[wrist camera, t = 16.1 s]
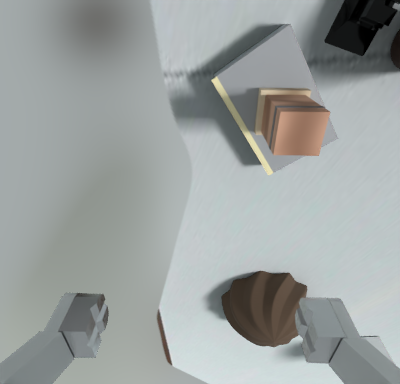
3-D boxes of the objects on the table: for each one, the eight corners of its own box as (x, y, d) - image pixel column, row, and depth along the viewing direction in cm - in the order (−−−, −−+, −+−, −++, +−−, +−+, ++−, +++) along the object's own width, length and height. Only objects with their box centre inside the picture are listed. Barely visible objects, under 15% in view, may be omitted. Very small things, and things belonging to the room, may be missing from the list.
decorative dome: (230, 265, 55) (235, 308, 46) (322, 275, 56) (342, 320, 47) (214, 318, 65) (215, 362, 56) (292, 327, 66) (304, 371, 58)
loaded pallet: (254, 131, 36) (267, 159, 28) (259, 87, 33) (275, 106, 25) (298, 131, 36) (323, 160, 28) (307, 88, 33) (337, 106, 25)
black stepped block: (358, 69, 35) (378, 75, 31) (309, 50, 34) (323, 53, 30) (429, -50, 28) (464, -62, 25) (371, -78, 27) (398, -95, 24)
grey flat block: (210, 76, 35) (211, 80, 32) (283, 24, 32) (291, 24, 29) (264, 166, 42) (268, 175, 39) (329, 131, 39) (338, 138, 36)
